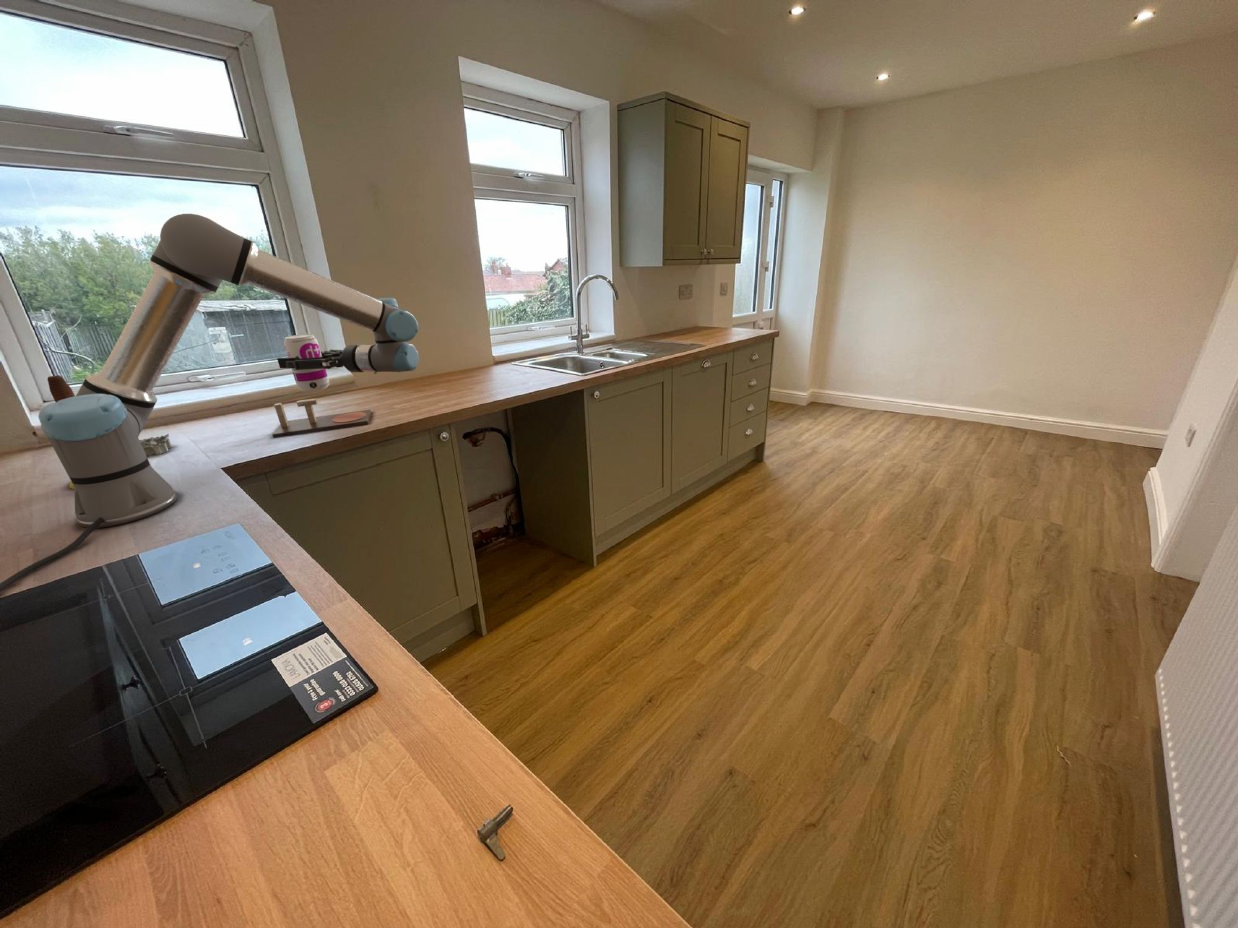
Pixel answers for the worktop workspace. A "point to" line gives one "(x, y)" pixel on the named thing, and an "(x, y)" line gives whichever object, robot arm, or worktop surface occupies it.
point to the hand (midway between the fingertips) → (291, 359)
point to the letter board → (317, 420)
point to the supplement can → (306, 349)
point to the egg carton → (156, 445)
